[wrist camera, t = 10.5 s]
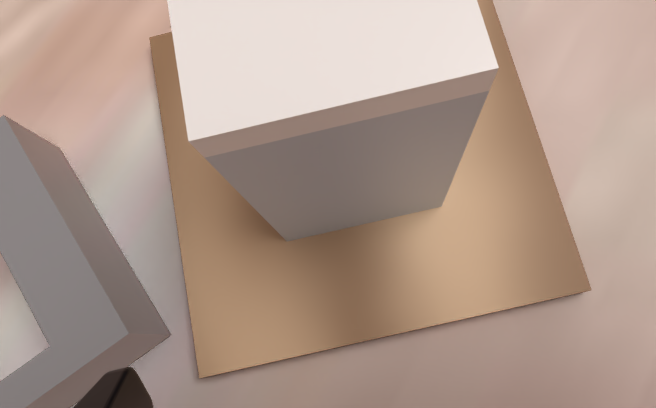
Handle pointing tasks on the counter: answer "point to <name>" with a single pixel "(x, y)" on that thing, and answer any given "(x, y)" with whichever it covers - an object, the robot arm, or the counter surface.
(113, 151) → the counter surface
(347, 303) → the cork pad
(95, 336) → the power strip
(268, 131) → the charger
